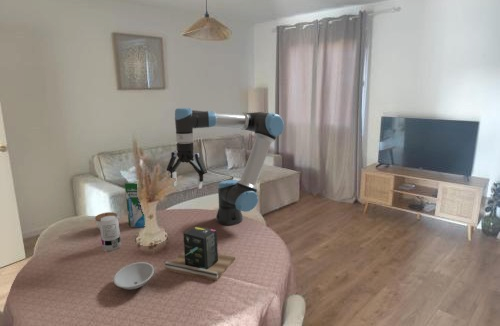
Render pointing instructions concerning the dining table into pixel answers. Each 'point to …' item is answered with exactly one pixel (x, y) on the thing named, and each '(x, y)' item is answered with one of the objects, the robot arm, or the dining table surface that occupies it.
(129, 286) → the dish
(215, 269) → the shelf board
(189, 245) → the tampon box
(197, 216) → the dining table surface
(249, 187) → the robot arm
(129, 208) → the milk carton
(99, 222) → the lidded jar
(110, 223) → the supplement can
